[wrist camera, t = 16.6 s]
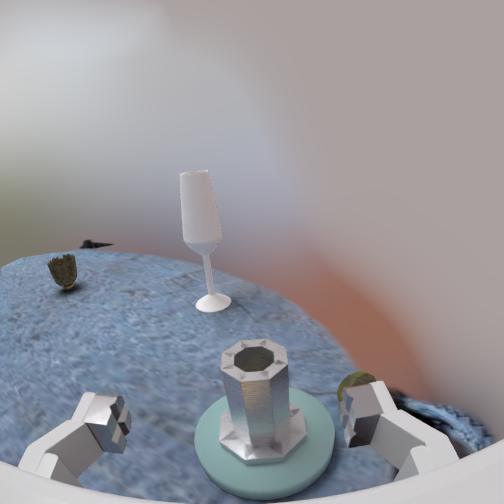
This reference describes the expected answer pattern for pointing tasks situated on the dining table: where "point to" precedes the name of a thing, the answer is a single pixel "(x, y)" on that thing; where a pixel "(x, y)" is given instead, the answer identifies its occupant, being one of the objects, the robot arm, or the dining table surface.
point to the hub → (271, 475)
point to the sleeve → (259, 405)
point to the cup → (64, 271)
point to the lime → (355, 381)
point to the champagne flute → (202, 230)
